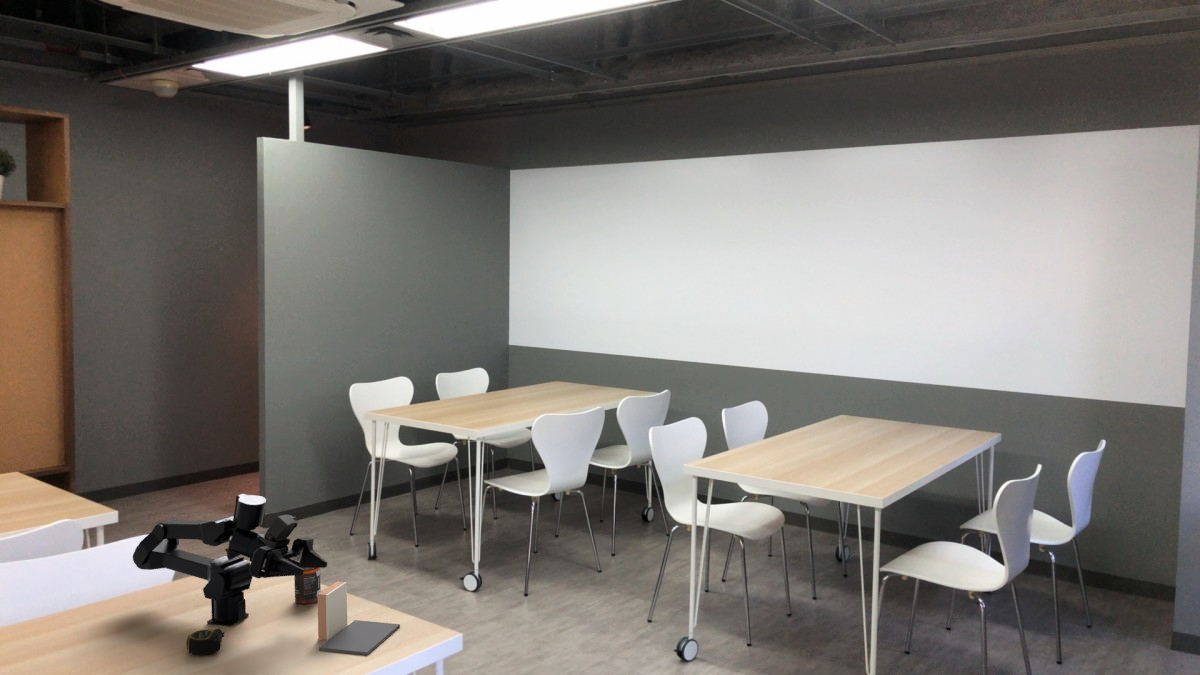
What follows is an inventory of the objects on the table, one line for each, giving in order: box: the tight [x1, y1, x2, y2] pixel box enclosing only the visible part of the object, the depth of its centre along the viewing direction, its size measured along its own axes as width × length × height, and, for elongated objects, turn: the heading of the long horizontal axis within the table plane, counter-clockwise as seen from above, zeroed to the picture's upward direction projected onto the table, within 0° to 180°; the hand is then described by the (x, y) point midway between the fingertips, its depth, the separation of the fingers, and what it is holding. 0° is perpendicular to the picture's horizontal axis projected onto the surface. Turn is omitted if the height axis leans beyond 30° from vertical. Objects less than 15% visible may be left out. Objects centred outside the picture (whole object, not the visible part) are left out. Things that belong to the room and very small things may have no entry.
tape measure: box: [186, 628, 225, 656], centre depth 177 cm, size 7×7×4 cm
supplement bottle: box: [294, 568, 322, 605], centre depth 205 cm, size 6×6×11 cm
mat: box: [318, 619, 401, 656], centre depth 184 cm, size 11×15×1 cm
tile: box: [317, 581, 348, 641], centre depth 186 cm, size 2×8×10 cm, turn 167°
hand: (315, 568), depth 185 cm, fingers open, 9 cm apart
